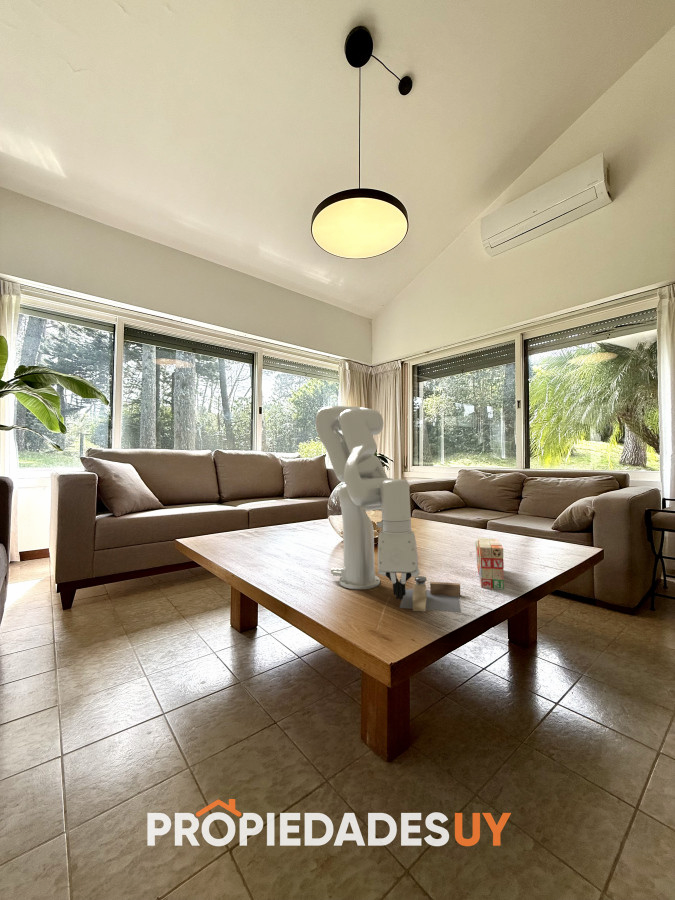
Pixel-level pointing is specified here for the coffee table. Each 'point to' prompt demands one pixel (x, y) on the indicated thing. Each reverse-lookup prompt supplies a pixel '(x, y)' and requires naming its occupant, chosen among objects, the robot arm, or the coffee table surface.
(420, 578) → the post
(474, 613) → the coffee table surface
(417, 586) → the leg
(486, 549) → the stack of blocks
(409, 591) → the mat
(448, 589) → the block
